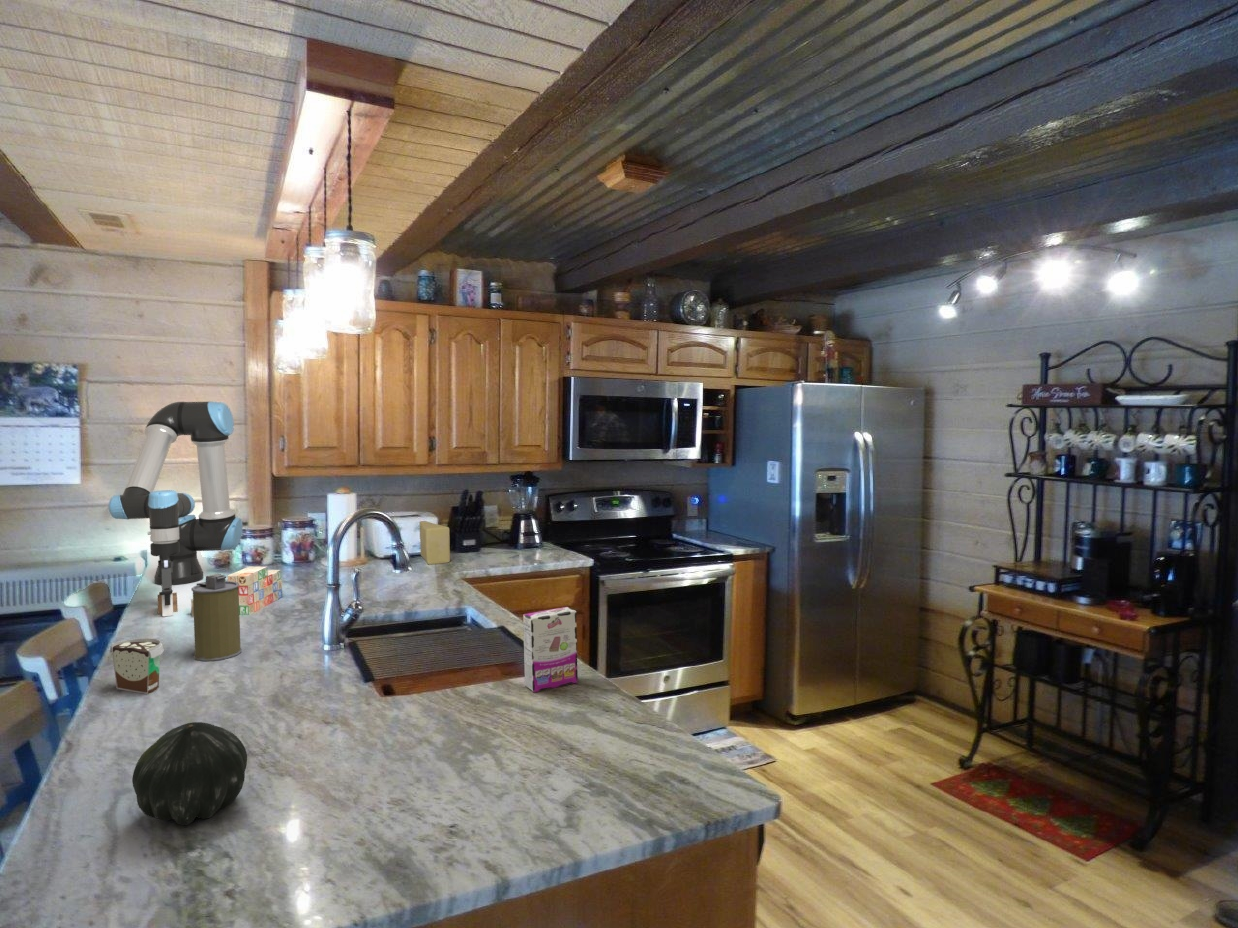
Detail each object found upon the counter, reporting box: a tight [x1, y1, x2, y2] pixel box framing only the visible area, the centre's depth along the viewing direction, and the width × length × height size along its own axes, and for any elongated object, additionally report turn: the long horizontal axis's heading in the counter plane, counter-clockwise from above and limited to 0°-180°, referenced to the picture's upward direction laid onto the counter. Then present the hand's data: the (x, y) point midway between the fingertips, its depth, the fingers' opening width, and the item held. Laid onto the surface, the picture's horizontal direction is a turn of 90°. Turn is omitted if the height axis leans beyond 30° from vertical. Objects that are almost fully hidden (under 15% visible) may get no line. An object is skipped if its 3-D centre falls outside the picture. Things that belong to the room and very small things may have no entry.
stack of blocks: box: [226, 566, 283, 616], centre depth 228 cm, size 21×6×12 cm, turn 0°
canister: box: [190, 573, 243, 662], centre depth 181 cm, size 11×10×20 cm
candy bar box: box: [522, 606, 579, 693], centre depth 161 cm, size 11×5×16 cm, turn 122°
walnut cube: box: [157, 591, 179, 615], centre depth 222 cm, size 5×5×5 cm
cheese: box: [419, 520, 451, 565], centre depth 301 cm, size 22×10×15 cm, turn 32°
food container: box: [109, 637, 165, 695], centre depth 160 cm, size 12×6×10 cm, turn 71°
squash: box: [131, 721, 248, 826], centre depth 110 cm, size 14×15×15 cm
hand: (167, 610), depth 222 cm, fingers open, 13 cm apart
